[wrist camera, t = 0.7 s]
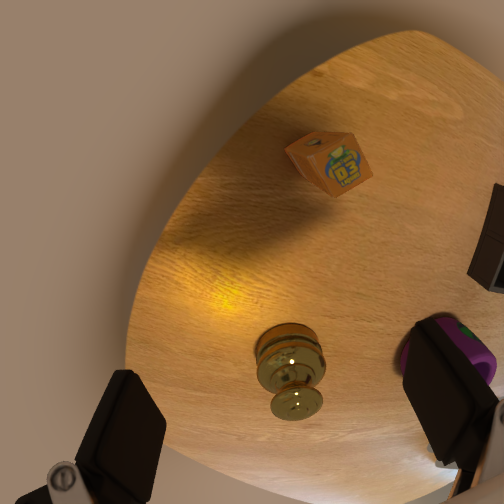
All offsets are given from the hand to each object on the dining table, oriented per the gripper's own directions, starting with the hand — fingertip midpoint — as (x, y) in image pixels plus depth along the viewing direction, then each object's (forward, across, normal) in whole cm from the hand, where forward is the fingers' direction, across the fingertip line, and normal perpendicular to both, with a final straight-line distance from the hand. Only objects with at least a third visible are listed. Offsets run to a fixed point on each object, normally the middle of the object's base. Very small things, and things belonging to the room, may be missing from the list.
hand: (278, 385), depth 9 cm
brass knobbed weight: (+20, 0, +16) cm, 25 cm away
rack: (+20, -32, +8) cm, 39 cm away
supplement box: (+20, -5, -5) cm, 22 cm away
